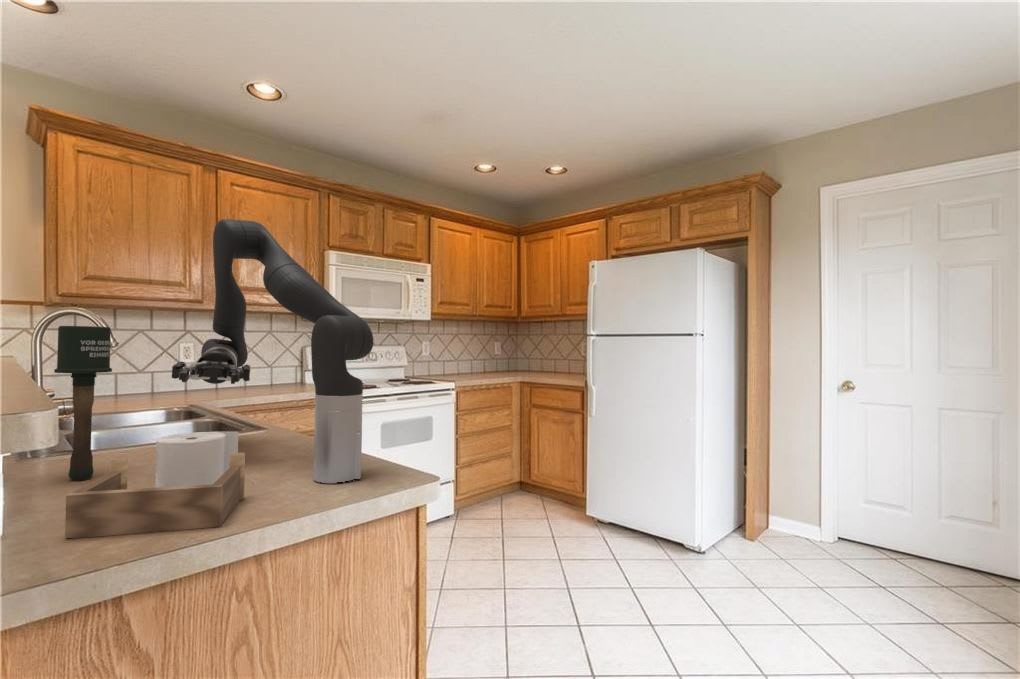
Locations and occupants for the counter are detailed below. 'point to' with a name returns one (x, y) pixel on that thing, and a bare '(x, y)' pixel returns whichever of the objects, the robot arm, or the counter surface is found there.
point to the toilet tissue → (193, 458)
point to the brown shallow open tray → (151, 503)
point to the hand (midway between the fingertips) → (209, 378)
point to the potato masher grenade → (83, 385)
